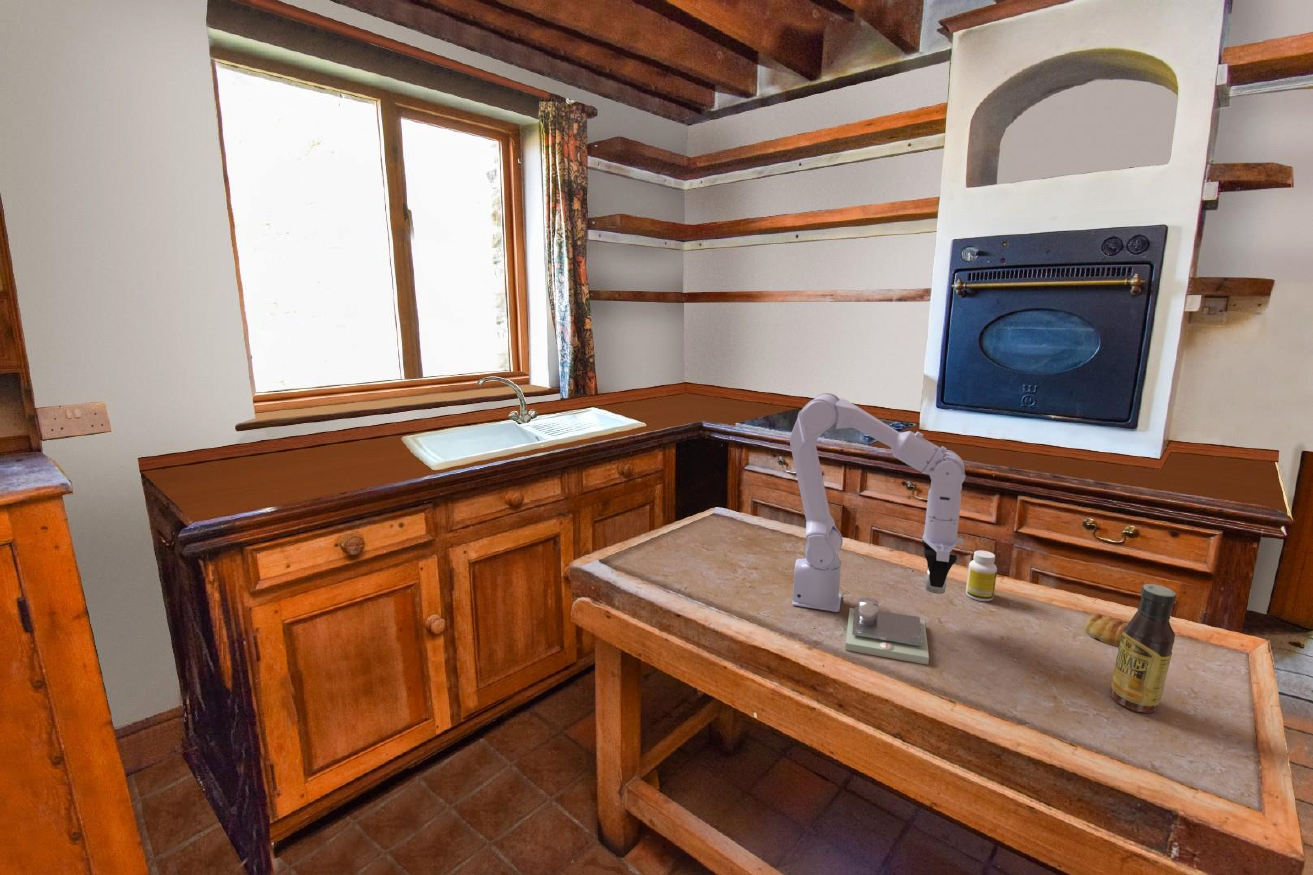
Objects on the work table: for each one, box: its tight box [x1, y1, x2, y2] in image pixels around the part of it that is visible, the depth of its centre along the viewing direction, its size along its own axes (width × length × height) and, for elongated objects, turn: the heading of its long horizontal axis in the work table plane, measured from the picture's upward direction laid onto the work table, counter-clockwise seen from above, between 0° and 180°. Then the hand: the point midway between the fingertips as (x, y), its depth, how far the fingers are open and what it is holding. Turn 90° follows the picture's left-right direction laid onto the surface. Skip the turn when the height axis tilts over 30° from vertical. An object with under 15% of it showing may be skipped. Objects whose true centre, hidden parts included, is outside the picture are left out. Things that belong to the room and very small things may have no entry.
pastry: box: [1084, 612, 1128, 648], centre depth 115 cm, size 9×7×4 cm
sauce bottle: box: [1110, 583, 1177, 714], centre depth 95 cm, size 6×6×20 cm
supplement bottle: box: [965, 550, 998, 602], centre depth 131 cm, size 5×5×10 cm
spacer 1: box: [858, 596, 880, 626], centre depth 117 cm, size 4×4×4 cm
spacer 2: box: [925, 566, 948, 595], centre depth 120 cm, size 4×4×4 cm
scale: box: [844, 607, 930, 666], centre depth 116 cm, size 14×14×2 cm
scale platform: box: [852, 606, 923, 646], centre depth 117 cm, size 12×10×2 cm
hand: (935, 581), depth 120 cm, fingers closed on spacer 2, 4 cm apart
